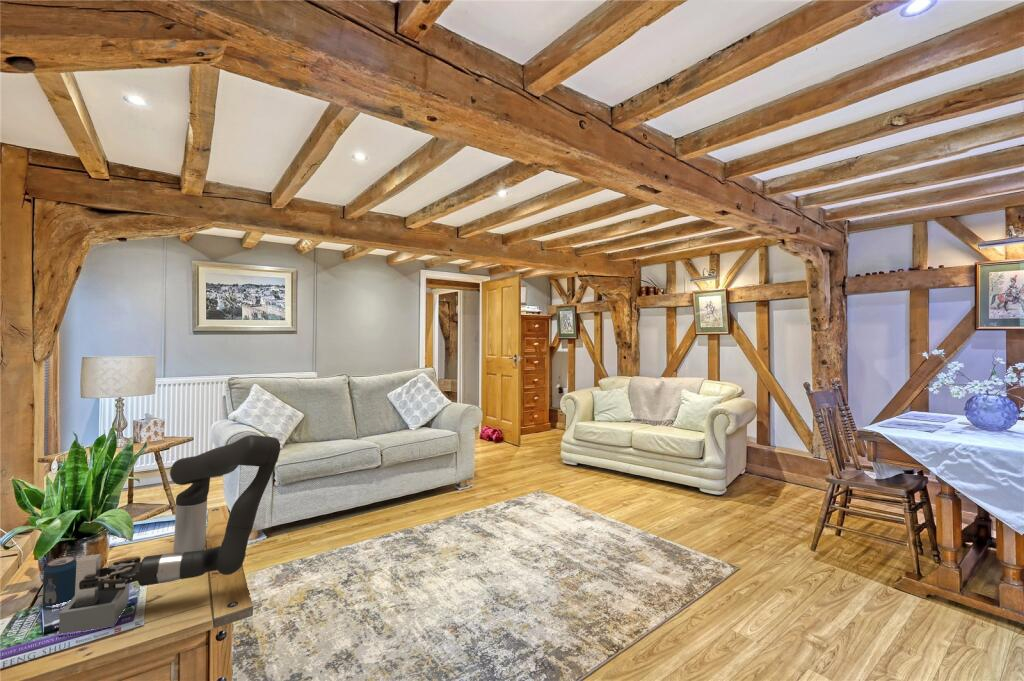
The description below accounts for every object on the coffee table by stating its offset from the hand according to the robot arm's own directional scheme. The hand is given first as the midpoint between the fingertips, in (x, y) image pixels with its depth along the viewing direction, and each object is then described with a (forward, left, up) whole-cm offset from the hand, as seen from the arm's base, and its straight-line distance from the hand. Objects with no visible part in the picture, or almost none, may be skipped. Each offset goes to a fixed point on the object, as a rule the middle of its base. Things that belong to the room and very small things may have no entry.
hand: (84, 579), depth 121 cm
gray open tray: (0, +3, -11) cm, 12 cm away
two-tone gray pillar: (0, +1, -10) cm, 10 cm away
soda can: (-13, -9, -11) cm, 20 cm away
